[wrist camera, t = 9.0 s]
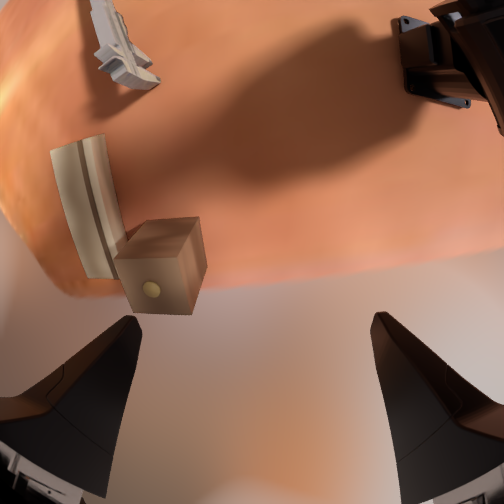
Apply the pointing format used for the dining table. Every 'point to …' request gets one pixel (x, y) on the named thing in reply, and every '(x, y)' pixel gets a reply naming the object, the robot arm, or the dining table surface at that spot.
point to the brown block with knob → (163, 266)
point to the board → (90, 204)
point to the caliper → (120, 49)
